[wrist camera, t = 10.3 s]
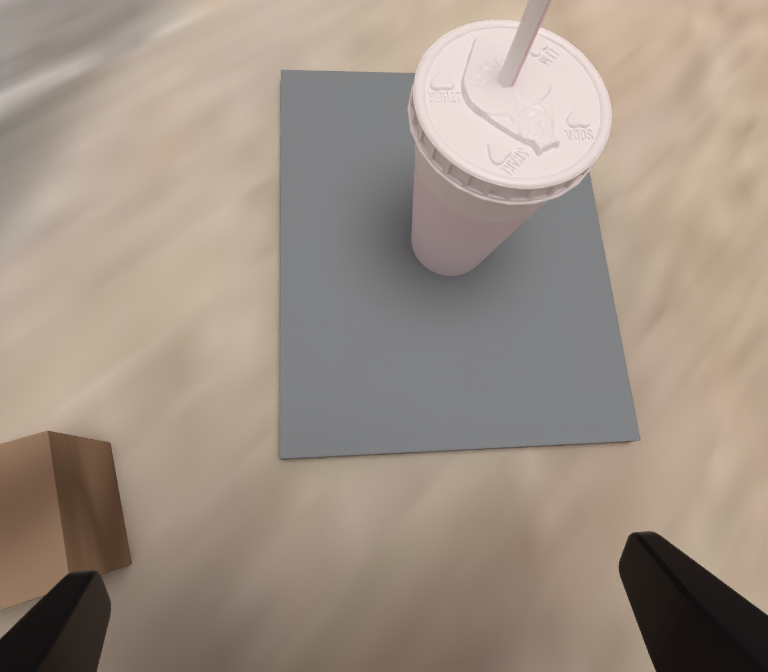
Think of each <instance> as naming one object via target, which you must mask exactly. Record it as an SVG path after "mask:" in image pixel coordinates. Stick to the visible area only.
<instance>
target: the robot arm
mask: <svg viewBox="0 0 768 672" xmlns="http://www.w3.org/2000/svg"><path fill="white" fill-rule="evenodd" d="M619 573H620V577H621V580H622V583H623V585H624V588H625V591H626V593H627V596H628V599H629V602H630V604H631V607H632V610H633V612H634V615H635V618H636V621H637V623H638V626H639V629H640V631H641V634H642V637H643V640H644V642H645V645H646V648H647V650H648V653H649V655H650V658H651V660H652V663H653V665H654V668H655V670H656V672H768V615H767V614H765V613H764V612H763V611H761V610H760V609H759V608H757V607H756V606H755V605H753V604H752V603H751V602H749V601H748V600H747V599H745V598H744V597H743V596H741V595H740V594H738V593H737V592H736V591H734V590H733V589H732V588H730V587H729V586H728V585H726V584H725V583H724V582H722V581H721V580H720V579H718V578H717V577H716V576H714V575H713V574H712V573H710V572H709V571H708V570H706V569H705V568H704V567H702V566H701V565H699V564H698V563H697V562H695V561H694V560H693V559H691V558H690V557H689V556H687V555H686V554H685V553H683V552H682V551H681V550H679V549H678V548H677V547H675V546H674V545H673V544H671V543H670V542H669V541H667V540H666V539H665V538H663V537H662V536H660V535H659V534H657V533H655V532H651V531H647V532H634V533H632V534H630V535H629V537H628V539H627V542H626V544H625V547H624V550H623V552H622V555H621V558H620V561H619ZM110 613H111V601H110V598H109V595H108V592H107V590H106V587H105V584H104V582H103V579H102V576H101V574H100V572H98V571H97V570H80V571H73V572H70V573H68V574H67V575H65V576H64V577H63V578H62V579H61V580H60V581H59V582H58V583H57V584H56V585H55V586H54V587H53V588H52V589H51V590H50V591H49V592H48V593H47V594H46V595H45V596H44V597H43V598H42V599H41V600H40V601H39V602H38V603H37V604H36V605H34V606H33V607H32V608H31V609H30V610H29V611H28V612H27V613H26V614H25V615H24V616H23V617H22V618H21V619H20V620H19V621H18V622H17V623H16V624H15V625H14V626H13V627H12V628H11V629H10V630H9V631H8V632H7V633H6V634H5V635H4V636H3V637H2V638H1V639H0V672H97V668H98V664H99V660H100V656H101V652H102V647H103V643H104V639H105V635H106V631H107V627H108V623H109V618H110Z"/></svg>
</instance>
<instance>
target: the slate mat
mask: <svg viewBox="0 0 768 672" xmlns="http://www.w3.org/2000/svg"><path fill="white" fill-rule="evenodd" d="M415 74H416V73H385V72H344V71H303V70H281V214H280V459H301V458H321V457H341V456H361V455H380V454H400V453H420V452H440V451H459V450H479V449H499V448H519V447H539V446H558V445H578V444H598V443H618V442H633V441H640V435H639V429H638V424H637V419H636V414H635V408H634V403H633V398H632V393H631V388H630V382H629V377H628V372H627V367H626V361H625V356H624V351H623V346H622V340H621V335H620V330H619V325H618V319H617V314H616V309H615V304H614V299H613V293H612V288H611V283H610V278H609V272H608V267H607V262H606V257H605V251H604V246H603V241H602V236H601V231H600V225H599V220H598V215H597V210H596V204H595V199H594V194H593V189H592V183H591V178H590V173H589V172H588V173H587V175H586V176H585V177H584V178H583V179H582V181H581V182H580V183H579V184H578V185H577V186H575V187H574V188H572V189H571V190H569V191H568V192H566V193H565V194H563V195H562V196H560V197H558V198H555V199H552V200H548V201H546V202H545V203H544V204H543V205H542V206H541V207H539V208H538V209H537V210H536V211H535V212H534V213H533V214H532V215H531V216H530V217H529V218H528V219H526V220H525V221H524V222H523V223H522V224H521V225H520V226H519V227H518V228H517V229H516V230H515V231H514V232H513V233H512V234H510V235H509V236H508V237H507V238H506V239H505V240H504V241H503V242H502V243H501V244H500V245H499V246H498V247H497V248H496V249H495V250H493V251H492V252H491V253H490V254H489V255H488V256H487V257H486V258H485V259H484V260H483V261H482V262H481V263H480V264H479V265H477V266H476V267H475V268H474V269H473V270H471V271H470V272H468V273H466V274H463V275H459V276H444V275H440V274H437V273H434V272H432V271H430V270H429V269H427V268H426V267H425V266H423V265H422V264H421V263H420V261H419V260H418V259H417V257H416V255H415V254H414V251H413V248H412V243H411V233H412V210H413V188H414V166H415V141H414V139H413V136H412V134H411V132H410V125H409V117H408V110H407V108H408V103H409V98H410V92H411V87H412V85H413V84H414V78H415Z"/></svg>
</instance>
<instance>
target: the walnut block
mask: <svg viewBox="0 0 768 672" xmlns="http://www.w3.org/2000/svg"><path fill="white" fill-rule="evenodd" d="M130 564H132V562H131V557H130V551H129V545H128V540H127V534H126V528H125V523H124V517H123V512H122V506H121V500H120V495H119V489H118V483H117V478H116V472H115V466H114V461H113V455H112V450H111V444H110V443H108V442H103V441H98V440H93V439H88V438H82V437H77V436H72V435H67V434H62V433H57V432H51V431H45V432H42V433H38V434H35V435H31V436H27V437H24V438H20V439H17V440H13V441H10V442H6V443H3V444H0V610H2V609H5V608H8V607H11V606H14V605H17V604H20V603H23V602H26V601H29V600H32V599H35V598H38V597H41V596H44V595H46V594H47V593H48V592H49V591H50V590H51V589H52V588H53V587H54V586H55V585H56V584H57V583H58V582H59V581H60V580H61V579H62V578H63V577H64V576H65V575H67V574H68V573H70V572H73V571H80V570H97V571H98V572H100V574H101V575H103V574H106V573H108V572H111V571H114V570H116V569H119V568H122V567H124V566H127V565H130Z"/></svg>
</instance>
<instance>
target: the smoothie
mask: <svg viewBox="0 0 768 672" xmlns="http://www.w3.org/2000/svg"><path fill="white" fill-rule="evenodd" d="M551 2H552V0H529V1H528V4H527V6H526V9H525V11H524V14H523V16H522V19H521V21H516V20H504V19H494V20H481V21H477V22H472V23H469V24H465V25H462V26H460V27H457V28H455V29H453V30H451V31H449V32H448V33H446V34H445V35H443V36H442V37H440V38H439V39H438V40H437V41H435V42H434V43H433V44H432V45H431V47H430V48H429V49H428V50H427V51H426V53H425V54H424V56H423V57H422V59H421V61H420V63H419V65H418V68H417V71H416V74H415V78H414V84H413V85H412V87H411V92H410V98H409V103H408V108H407V110H408V117H409V125H410V132H411V134H412V136H413V139H414V141H415V166H414V188H413V210H412V233H411V243H412V248H413V251H414V254H415V255H416V257H417V259H418V260H419V261H420V263H421V264H422V265H423V266H425V267H426V268H427V269H429V270H430V271H432V272H434V273H437V274H440V275H444V276H459V275H463V274H466V273H468V272H470V271H471V270H473V269H474V268H475V267H476V266H477V265H479V264H480V263H481V262H482V261H483V260H484V259H485V258H486V257H487V256H488V255H489V254H490V253H491V252H492V251H493V250H495V249H496V248H497V247H498V246H499V245H500V244H501V243H502V242H503V241H504V240H505V239H506V238H507V237H508V236H509V235H510V234H512V233H513V232H514V231H515V230H516V229H517V228H518V227H519V226H520V225H521V224H522V223H523V222H524V221H525V220H526V219H528V218H529V217H530V216H531V215H532V214H533V213H534V212H535V211H536V210H537V209H538V208H539V207H541V206H542V205H543V204H544V203H545V202H546V201H548V200H552V199H555V198H558V197H560V196H562V195H563V194H565V193H566V192H568V191H569V190H571V189H572V188H574V187H575V186H577V185H578V184H579V183H580V182H581V181H582V179H583V178H584V177H585V176H586V175H587V173H588V172H589V171H590V170H591V169H592V167H593V164H594V162H595V161H596V159H597V158H598V157H599V155H600V154H601V152H602V151H603V149H604V147H605V145H606V142H607V140H608V137H609V134H610V129H611V122H612V112H611V104H610V99H609V95H608V92H607V89H606V87H605V85H604V82H603V80H602V79H601V77H600V75H599V73H598V72H597V70H596V69H595V67H594V66H593V65H592V63H591V62H590V61H589V60H588V59H587V58H586V57H585V56H584V54H583V53H582V52H580V51H579V50H578V49H577V48H576V47H574V46H573V45H572V44H571V43H570V42H568V41H567V40H565V39H563V38H562V37H560V36H558V35H557V34H555V33H553V32H551V31H549V30H546V29H544V28H541V25H542V22H543V20H544V18H545V16H546V13H547V11H548V9H549V7H550V4H551Z"/></svg>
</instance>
